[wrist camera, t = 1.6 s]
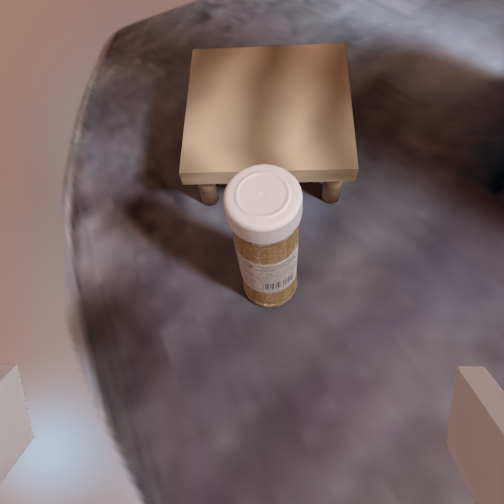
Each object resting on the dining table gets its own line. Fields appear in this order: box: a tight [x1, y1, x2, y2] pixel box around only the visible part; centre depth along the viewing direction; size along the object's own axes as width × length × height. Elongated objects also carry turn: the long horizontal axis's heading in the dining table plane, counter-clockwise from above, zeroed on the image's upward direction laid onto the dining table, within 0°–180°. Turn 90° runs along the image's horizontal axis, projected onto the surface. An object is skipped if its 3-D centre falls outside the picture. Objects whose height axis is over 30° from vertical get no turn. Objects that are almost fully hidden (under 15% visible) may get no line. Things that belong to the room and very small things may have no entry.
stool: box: [179, 43, 359, 206], centre depth 40 cm, size 14×14×6 cm
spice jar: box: [223, 164, 303, 308], centre depth 31 cm, size 5×5×13 cm
